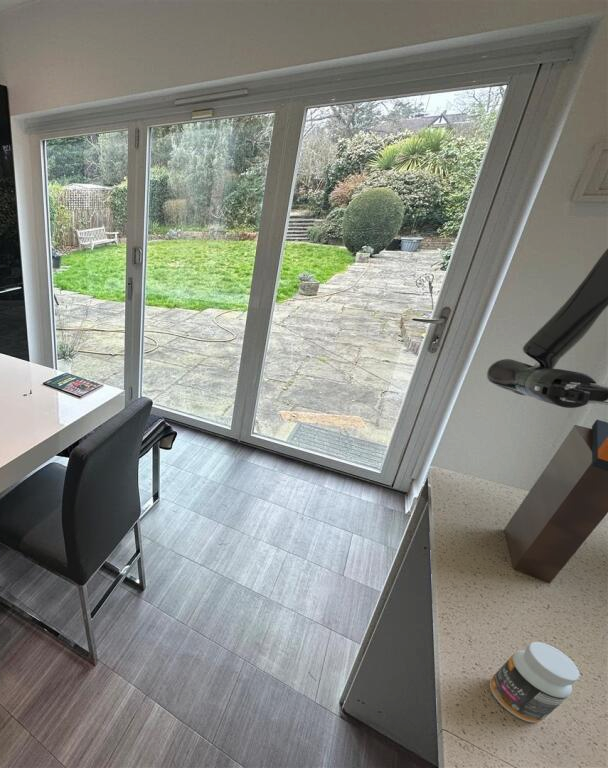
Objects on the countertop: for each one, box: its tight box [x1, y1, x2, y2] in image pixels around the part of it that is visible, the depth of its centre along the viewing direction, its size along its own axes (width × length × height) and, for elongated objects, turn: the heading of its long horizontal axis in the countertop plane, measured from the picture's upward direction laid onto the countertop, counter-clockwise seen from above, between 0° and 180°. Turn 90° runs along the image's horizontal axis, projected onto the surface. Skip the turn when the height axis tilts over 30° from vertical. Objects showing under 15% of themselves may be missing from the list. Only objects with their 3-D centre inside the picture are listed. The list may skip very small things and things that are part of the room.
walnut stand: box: [503, 424, 608, 584], centre depth 73 cm, size 5×12×26 cm, turn 145°
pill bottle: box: [489, 641, 581, 723], centre depth 54 cm, size 6×6×10 cm
